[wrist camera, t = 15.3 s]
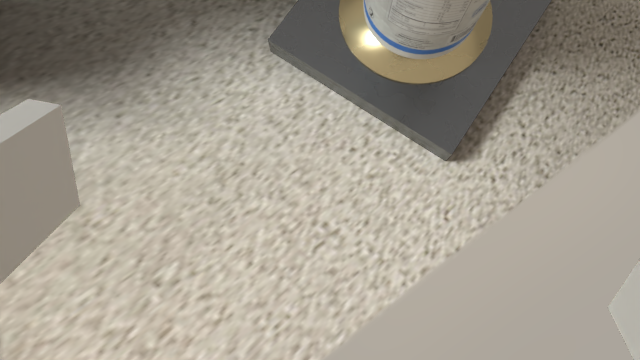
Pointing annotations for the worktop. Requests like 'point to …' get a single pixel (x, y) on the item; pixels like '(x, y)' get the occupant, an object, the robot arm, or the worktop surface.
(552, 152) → the worktop surface
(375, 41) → the arbor press
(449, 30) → the supplement tub
